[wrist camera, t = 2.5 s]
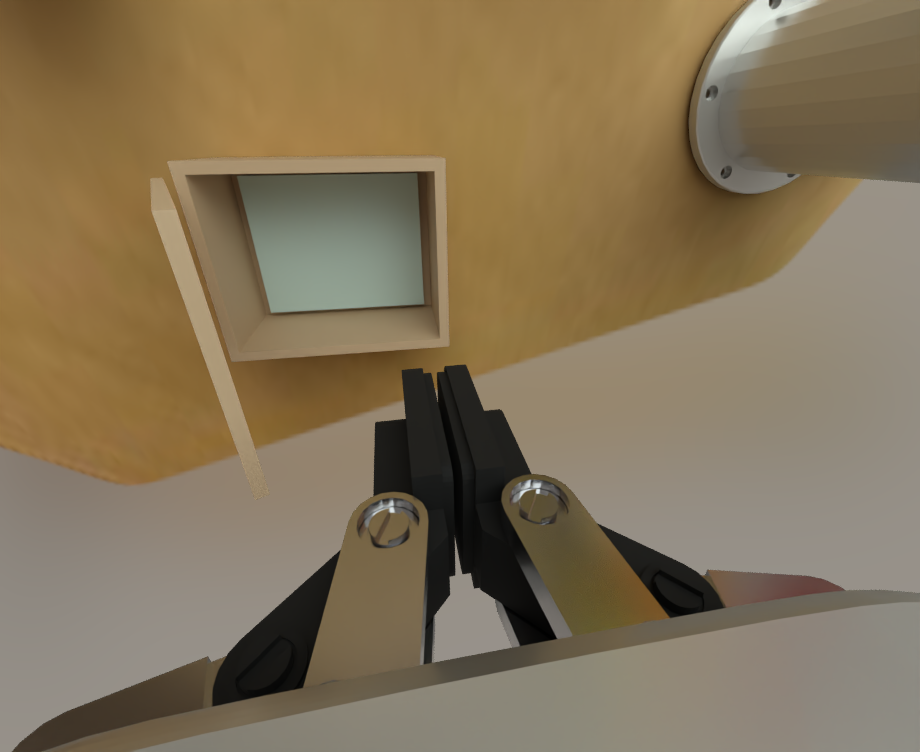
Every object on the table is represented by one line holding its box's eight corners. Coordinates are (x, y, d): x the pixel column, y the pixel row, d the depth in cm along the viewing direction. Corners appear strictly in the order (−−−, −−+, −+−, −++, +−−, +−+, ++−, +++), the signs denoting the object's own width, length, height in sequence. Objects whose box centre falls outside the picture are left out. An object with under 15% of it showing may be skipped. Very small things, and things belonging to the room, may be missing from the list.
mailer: (432, 155, 27) (445, 158, 21) (438, 309, 33) (449, 346, 27) (218, 157, 26) (166, 161, 20) (262, 320, 31) (231, 361, 25)
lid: (176, 209, 10) (147, 211, 10) (270, 494, 15) (252, 501, 14) (162, 177, 20) (148, 178, 19) (221, 354, 24) (210, 356, 24)
